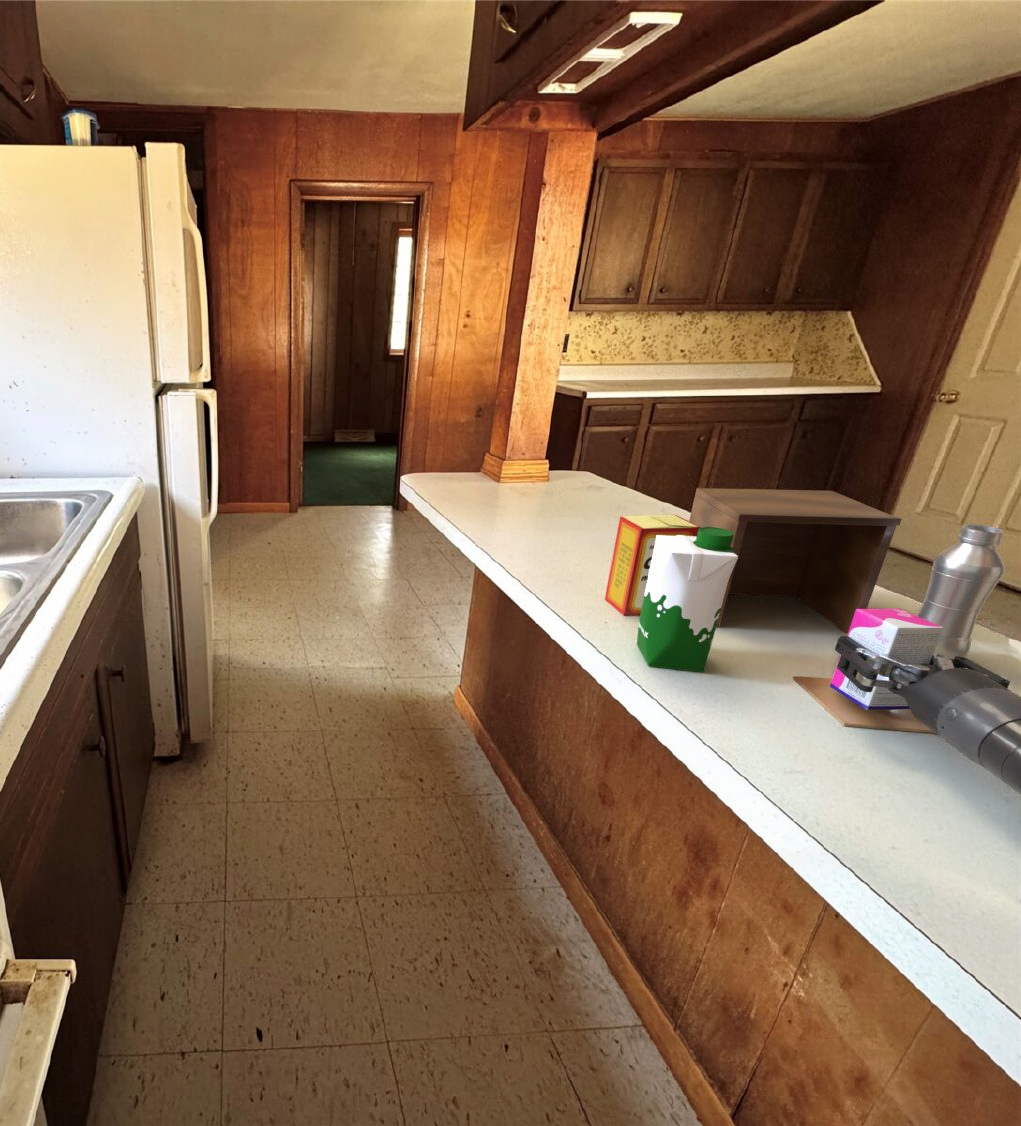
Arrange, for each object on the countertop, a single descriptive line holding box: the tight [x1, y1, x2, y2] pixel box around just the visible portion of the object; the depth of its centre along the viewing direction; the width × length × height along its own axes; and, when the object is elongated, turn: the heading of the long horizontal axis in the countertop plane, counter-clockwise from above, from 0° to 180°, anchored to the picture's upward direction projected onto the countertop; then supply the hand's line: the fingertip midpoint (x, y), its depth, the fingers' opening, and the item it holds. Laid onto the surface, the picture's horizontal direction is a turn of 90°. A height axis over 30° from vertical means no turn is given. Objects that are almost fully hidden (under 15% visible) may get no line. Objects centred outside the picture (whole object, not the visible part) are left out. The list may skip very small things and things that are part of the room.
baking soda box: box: [604, 514, 701, 617], centre depth 105 cm, size 10×6×16 cm
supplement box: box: [830, 608, 944, 710], centre depth 77 cm, size 6×6×12 cm
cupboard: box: [688, 487, 903, 636], centre depth 102 cm, size 16×21×19 cm
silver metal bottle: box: [915, 523, 1006, 659], centre depth 86 cm, size 6×7×20 cm
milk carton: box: [636, 527, 738, 673], centre depth 88 cm, size 9×9×20 cm
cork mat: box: [792, 675, 937, 735], centre depth 80 cm, size 11×11×1 cm
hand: (872, 644), depth 79 cm, fingers closed on supplement box, 6 cm apart
